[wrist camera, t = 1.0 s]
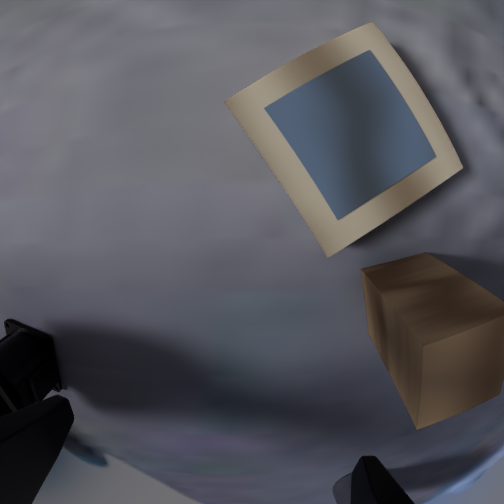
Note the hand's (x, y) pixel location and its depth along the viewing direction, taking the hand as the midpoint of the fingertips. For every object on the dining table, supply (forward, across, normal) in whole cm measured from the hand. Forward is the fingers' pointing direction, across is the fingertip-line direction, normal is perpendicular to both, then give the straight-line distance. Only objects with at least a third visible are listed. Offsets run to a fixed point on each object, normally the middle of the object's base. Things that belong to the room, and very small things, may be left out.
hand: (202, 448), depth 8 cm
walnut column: (+14, -10, 0) cm, 17 cm away
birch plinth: (+14, -4, -10) cm, 18 cm away
